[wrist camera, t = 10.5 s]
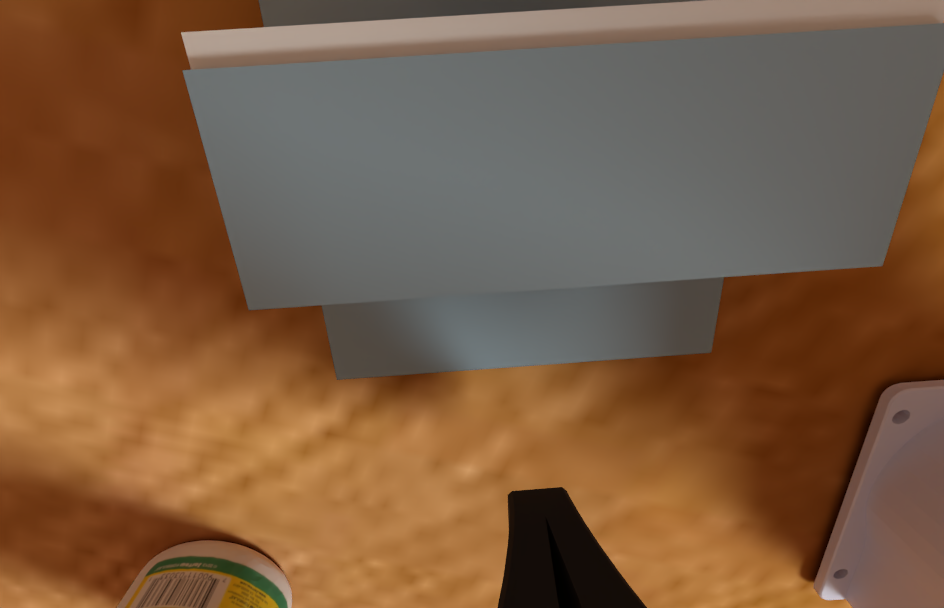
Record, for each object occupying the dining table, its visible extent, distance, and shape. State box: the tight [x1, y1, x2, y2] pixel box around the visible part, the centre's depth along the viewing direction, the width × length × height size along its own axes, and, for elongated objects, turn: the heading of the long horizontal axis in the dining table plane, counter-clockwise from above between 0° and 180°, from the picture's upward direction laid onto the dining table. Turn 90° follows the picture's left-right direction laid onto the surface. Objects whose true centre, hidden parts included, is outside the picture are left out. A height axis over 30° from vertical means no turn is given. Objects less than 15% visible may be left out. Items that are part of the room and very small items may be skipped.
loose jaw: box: [181, 0, 944, 310], centre depth 8 cm, size 3×9×4 cm, turn 93°
